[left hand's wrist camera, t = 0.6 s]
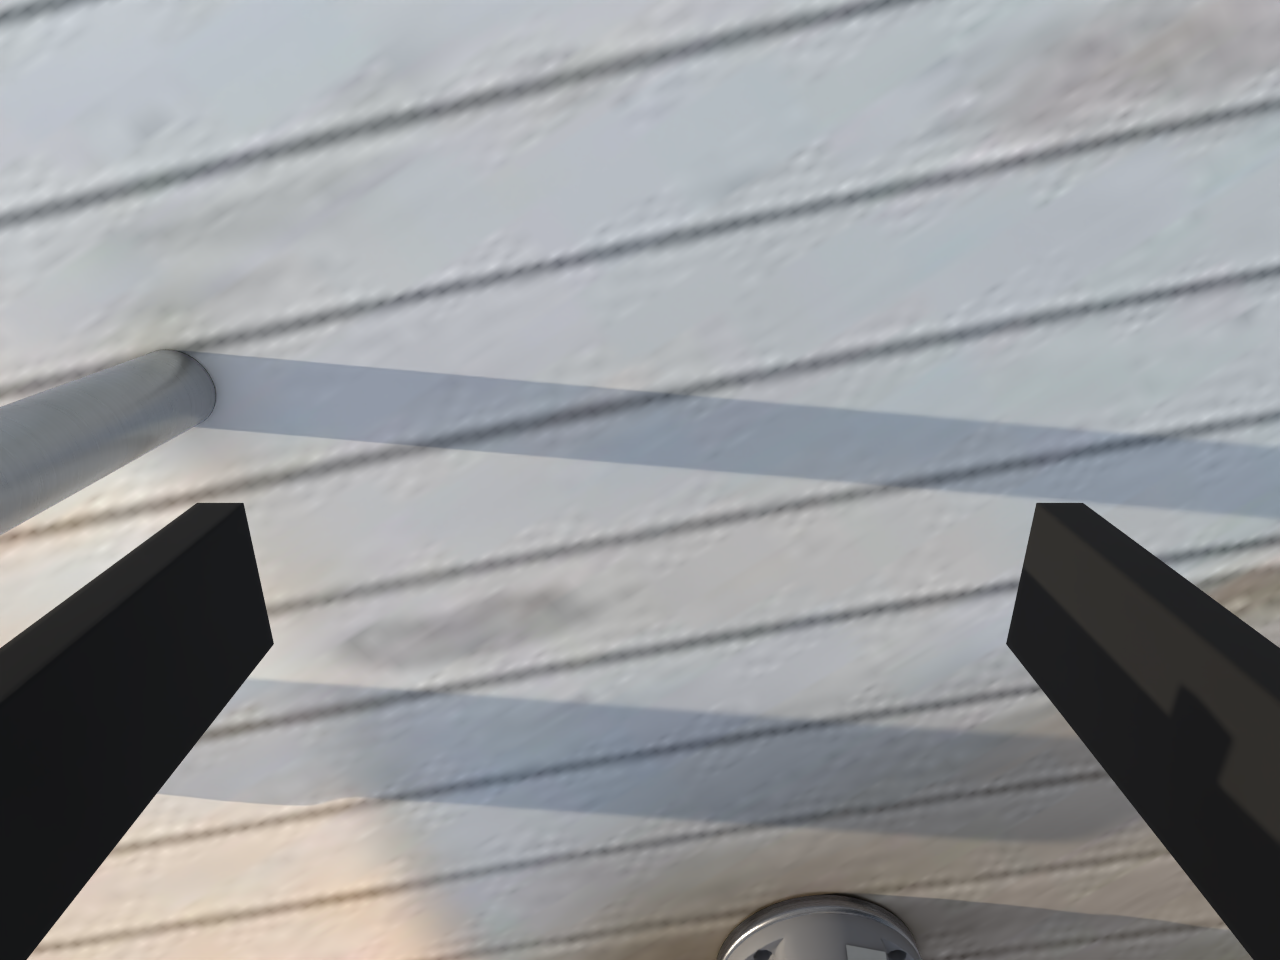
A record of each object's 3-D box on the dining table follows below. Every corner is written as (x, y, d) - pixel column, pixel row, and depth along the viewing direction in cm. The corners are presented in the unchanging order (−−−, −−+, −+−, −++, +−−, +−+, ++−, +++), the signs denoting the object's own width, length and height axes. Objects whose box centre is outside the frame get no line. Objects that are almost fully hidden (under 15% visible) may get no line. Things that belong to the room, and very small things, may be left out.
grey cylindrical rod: (232, 396, 40) (-55, 551, 24) (180, 441, 41) (-131, 620, 25) (170, 333, 39) (-179, 450, 22) (118, 380, 40) (-255, 526, 23)
